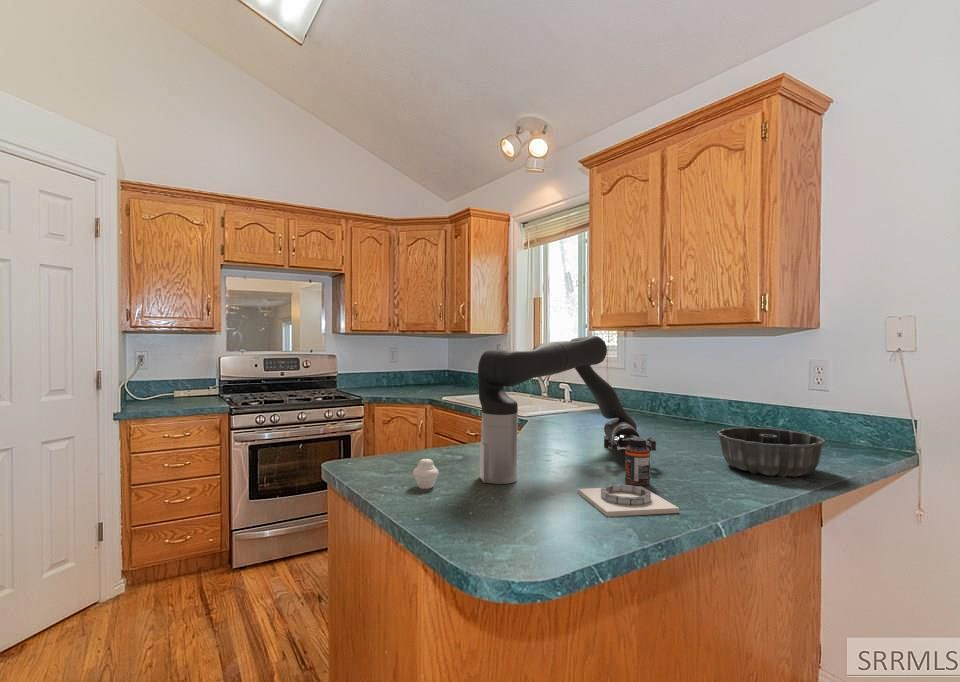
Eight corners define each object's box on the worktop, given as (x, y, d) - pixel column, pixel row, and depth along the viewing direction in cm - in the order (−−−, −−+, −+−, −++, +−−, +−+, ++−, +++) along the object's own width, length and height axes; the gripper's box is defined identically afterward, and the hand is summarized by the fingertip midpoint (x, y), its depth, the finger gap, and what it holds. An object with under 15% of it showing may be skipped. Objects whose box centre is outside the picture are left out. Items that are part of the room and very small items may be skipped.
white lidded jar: (413, 483, 124) (413, 455, 124) (438, 483, 125) (438, 455, 125) (412, 491, 118) (412, 461, 118) (438, 490, 119) (438, 461, 119)
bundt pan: (766, 485, 126) (766, 446, 126) (697, 461, 152) (697, 428, 152) (849, 480, 132) (850, 442, 132) (770, 457, 158) (770, 425, 158)
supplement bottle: (621, 480, 129) (621, 436, 129) (643, 479, 130) (644, 436, 130) (630, 486, 123) (630, 440, 123) (653, 486, 124) (654, 440, 124)
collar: (613, 506, 105) (613, 499, 105) (593, 491, 115) (593, 485, 115) (659, 504, 107) (660, 497, 107) (636, 490, 117) (636, 483, 117)
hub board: (606, 516, 102) (606, 511, 102) (578, 493, 118) (578, 488, 118) (679, 512, 104) (679, 508, 104) (641, 490, 120) (641, 486, 120)
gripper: (601, 424, 155) (605, 433, 139) (649, 426, 152) (659, 435, 136) (601, 448, 155) (605, 460, 139) (649, 450, 152) (659, 463, 136)
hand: (632, 448), depth 137 cm, fingers open, 8 cm apart
